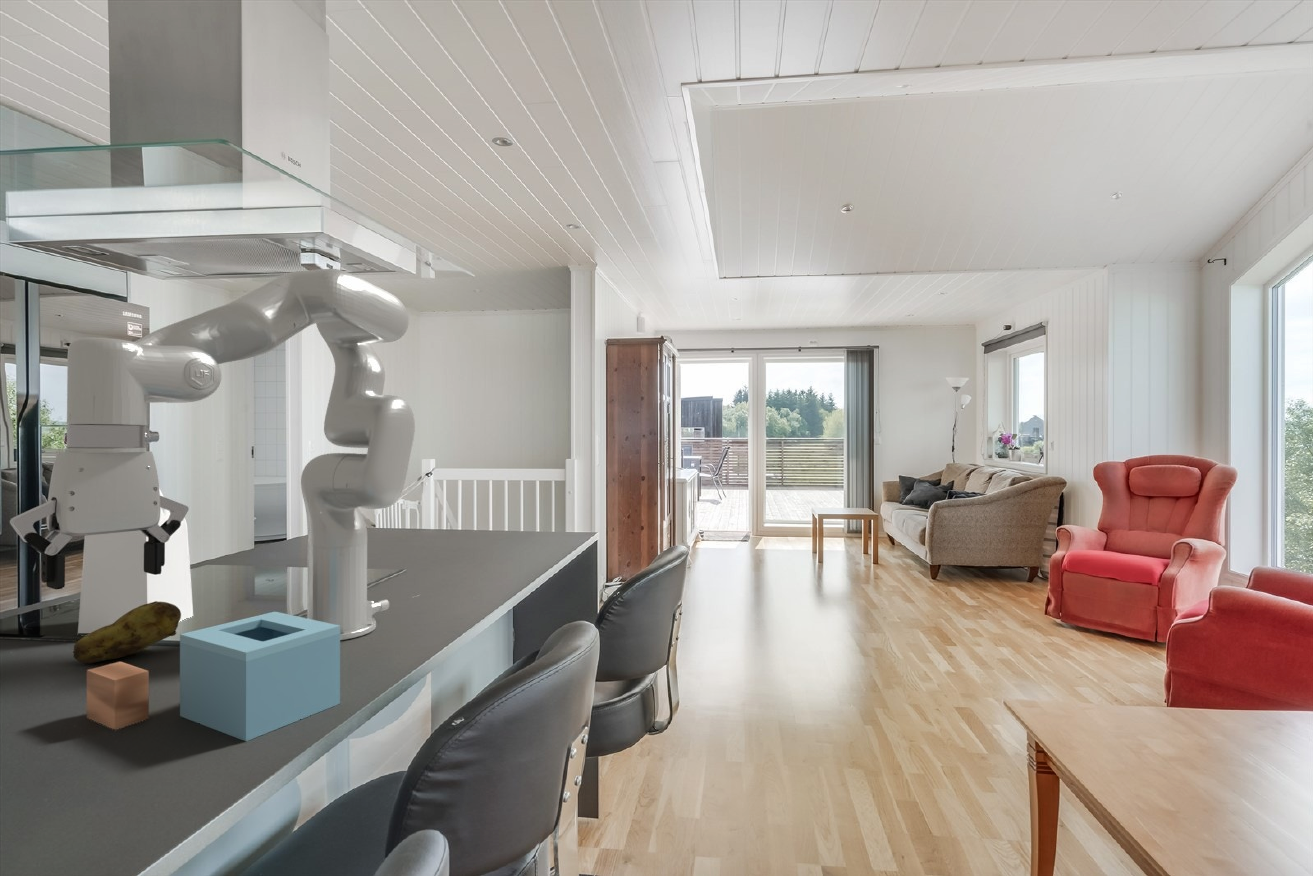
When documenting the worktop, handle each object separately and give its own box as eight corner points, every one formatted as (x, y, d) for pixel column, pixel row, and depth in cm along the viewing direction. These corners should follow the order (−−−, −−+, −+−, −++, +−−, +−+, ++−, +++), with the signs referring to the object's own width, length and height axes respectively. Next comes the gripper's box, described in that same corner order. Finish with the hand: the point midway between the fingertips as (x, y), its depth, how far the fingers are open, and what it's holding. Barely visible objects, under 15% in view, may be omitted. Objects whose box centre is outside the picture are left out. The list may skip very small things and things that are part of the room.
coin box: (274, 683, 92) (274, 611, 92) (340, 703, 86) (340, 625, 86) (180, 716, 82) (180, 634, 82) (246, 741, 75) (246, 652, 75)
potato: (83, 655, 104) (83, 604, 104) (183, 642, 110) (183, 595, 110) (69, 672, 97) (69, 617, 97) (177, 657, 103) (177, 606, 103)
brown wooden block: (120, 708, 84) (120, 661, 84) (148, 719, 81) (148, 671, 81) (86, 718, 81) (86, 670, 81) (114, 730, 78) (114, 680, 78)
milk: (77, 635, 114) (77, 485, 114) (129, 616, 125) (129, 480, 125) (147, 635, 114) (148, 485, 114) (193, 616, 126) (193, 480, 126)
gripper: (173, 440, 90) (172, 565, 90) (0, 439, 75) (-2, 590, 75) (201, 440, 86) (200, 571, 86) (25, 440, 71) (23, 598, 71)
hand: (106, 580), depth 80 cm, fingers open, 9 cm apart
